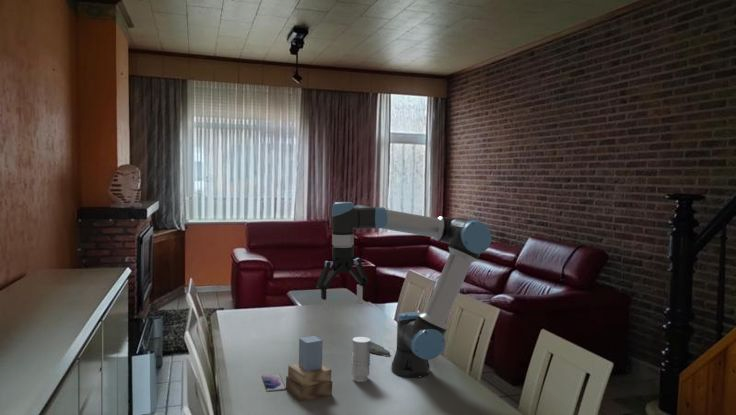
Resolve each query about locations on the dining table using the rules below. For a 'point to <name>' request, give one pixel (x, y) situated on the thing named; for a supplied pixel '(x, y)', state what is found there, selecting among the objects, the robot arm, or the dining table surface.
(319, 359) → the blue block
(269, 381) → the smartphone
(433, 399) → the dining table surface
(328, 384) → the block
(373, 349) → the stone
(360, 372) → the candle
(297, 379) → the tower top
